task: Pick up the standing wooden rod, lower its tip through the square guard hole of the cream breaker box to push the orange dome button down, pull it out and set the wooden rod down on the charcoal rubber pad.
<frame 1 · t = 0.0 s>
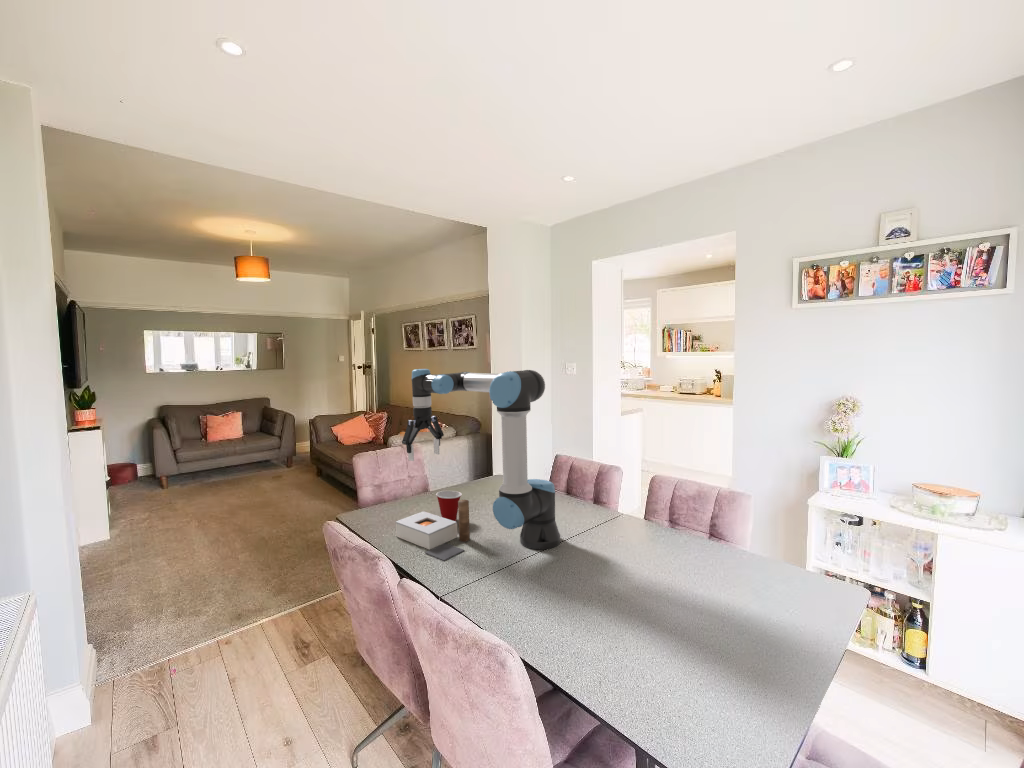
hand: (424, 457, 195), 28 cm above the table, fingers open, 13 cm apart
breaker box: (426, 536, 183), on the table
wooden rod: (464, 539, 179), on the table
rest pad: (444, 552, 169), on the table
plastic cup: (449, 521, 199), on the table
orange dome button: (426, 527, 182), point 4 cm above the table, slide at 0.0 cm
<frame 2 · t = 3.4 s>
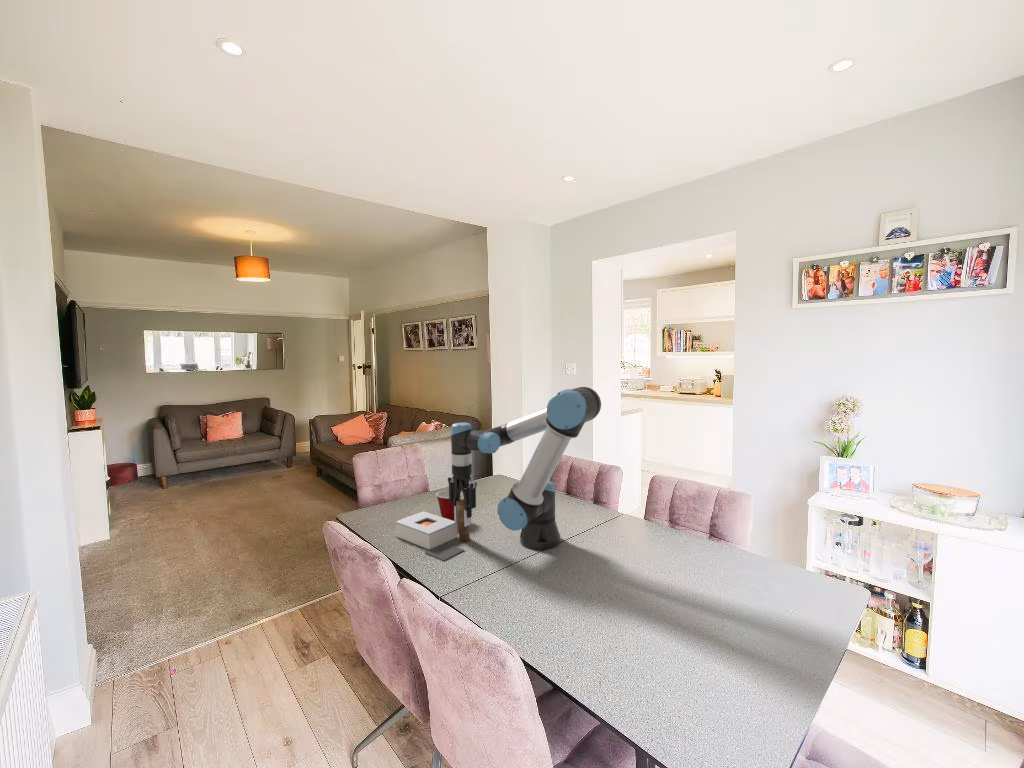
hand: (462, 523, 179), 6 cm above the table, fingers closed on wooden rod, 5 cm apart
wooden rod: (464, 539, 179), on the table, touching gripper
everything else where it was.
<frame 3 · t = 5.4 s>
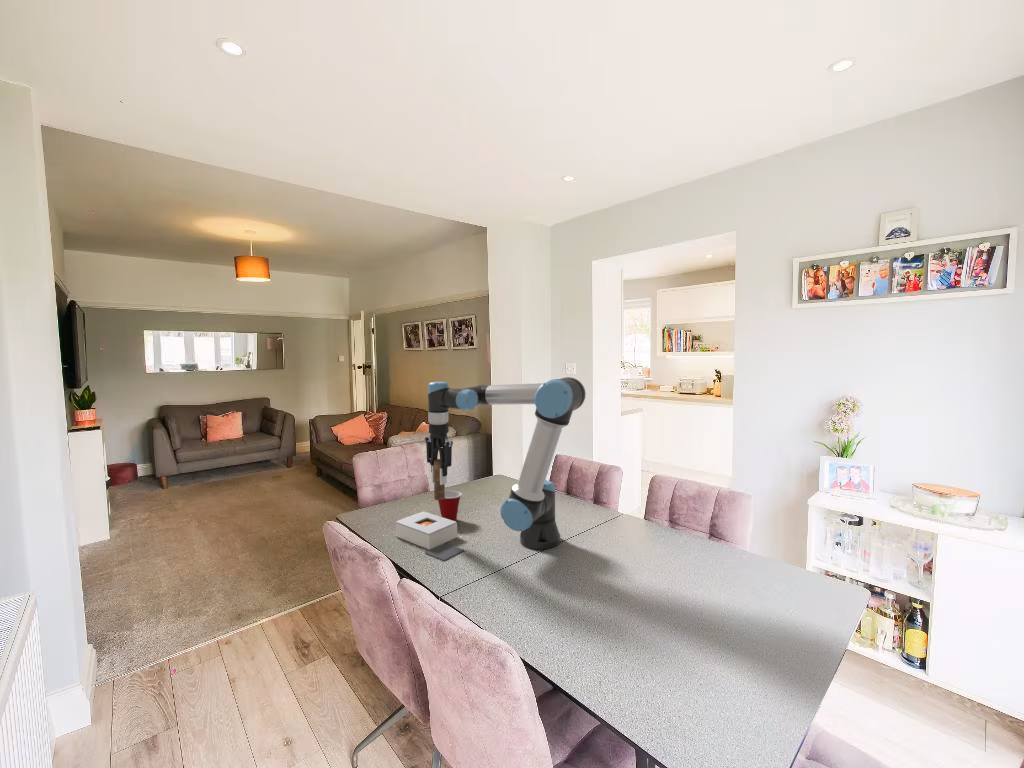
hand: (439, 482, 180), 22 cm above the table, fingers closed on wooden rod, 4 cm apart
wooden rod: (439, 498, 180), point 16 cm above the table, touching gripper
everything else where it was.
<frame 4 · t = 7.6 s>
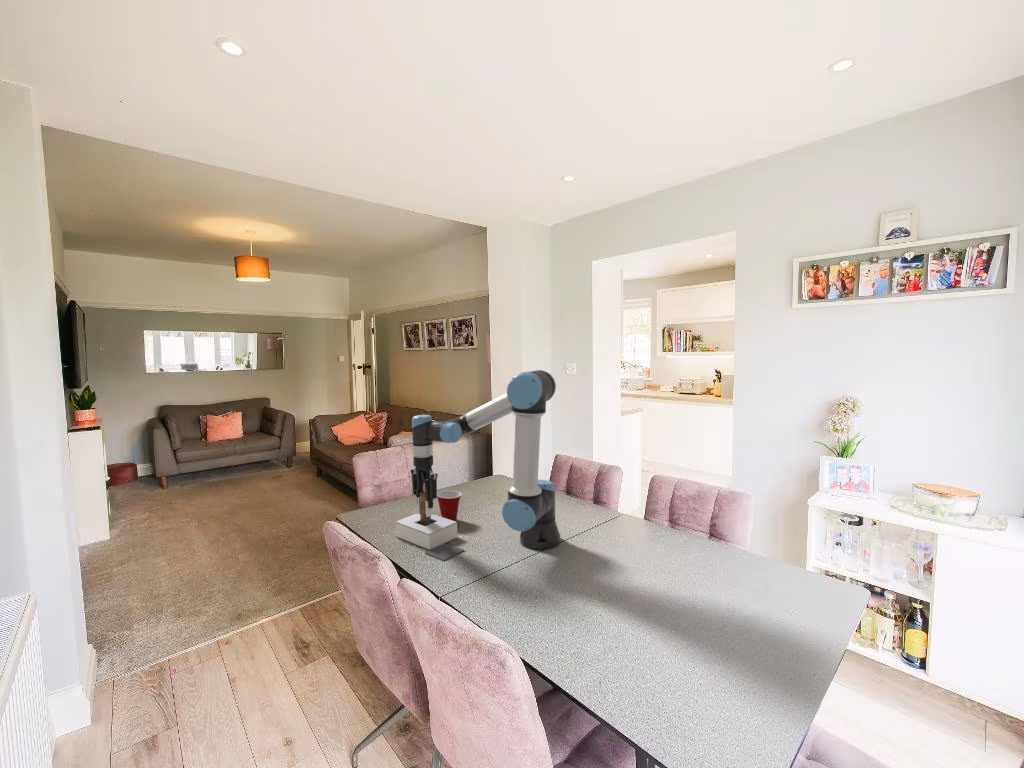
hand: (425, 514, 182), 9 cm above the table, fingers closed on wooden rod, 4 cm apart
wooden rod: (426, 529, 183), point 3 cm above the table, touching gripper, orange dome button
orange dome button: (426, 532, 183), point 2 cm above the table, slide at 2.2 cm, touching wooden rod
everything else where it was.
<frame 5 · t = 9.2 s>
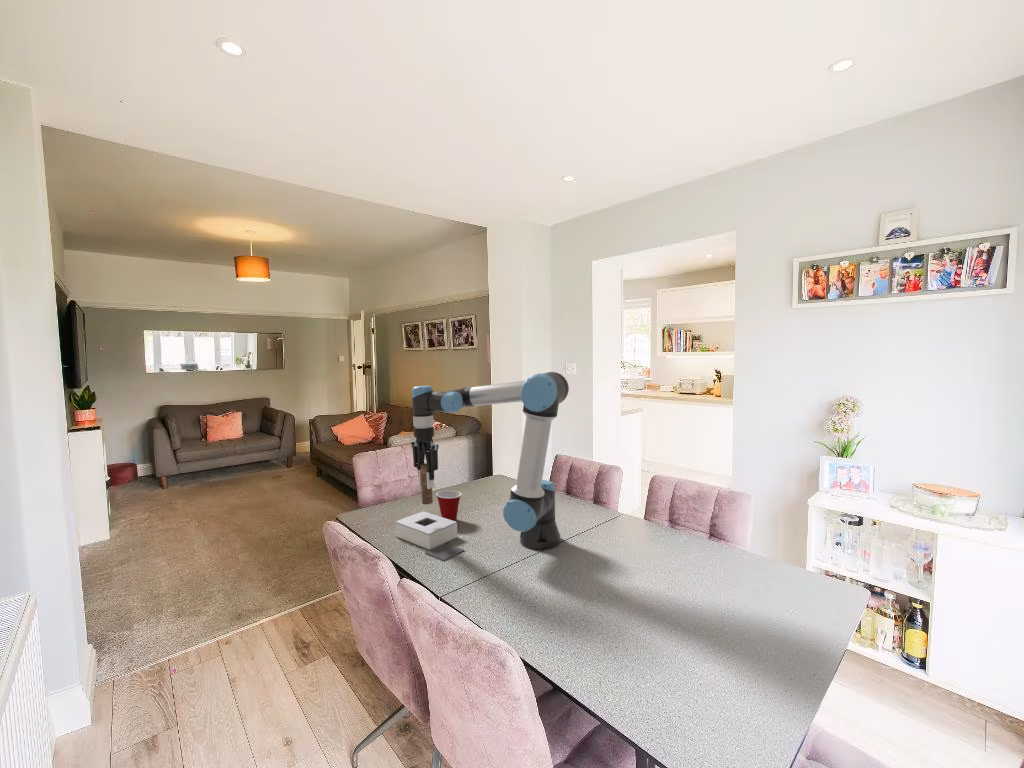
hand: (426, 486, 180), 20 cm above the table, fingers closed on wooden rod, 4 cm apart
wooden rod: (427, 502, 180), point 14 cm above the table, touching gripper
orange dome button: (426, 532, 183), point 2 cm above the table, slide at 2.2 cm
everything else where it was.
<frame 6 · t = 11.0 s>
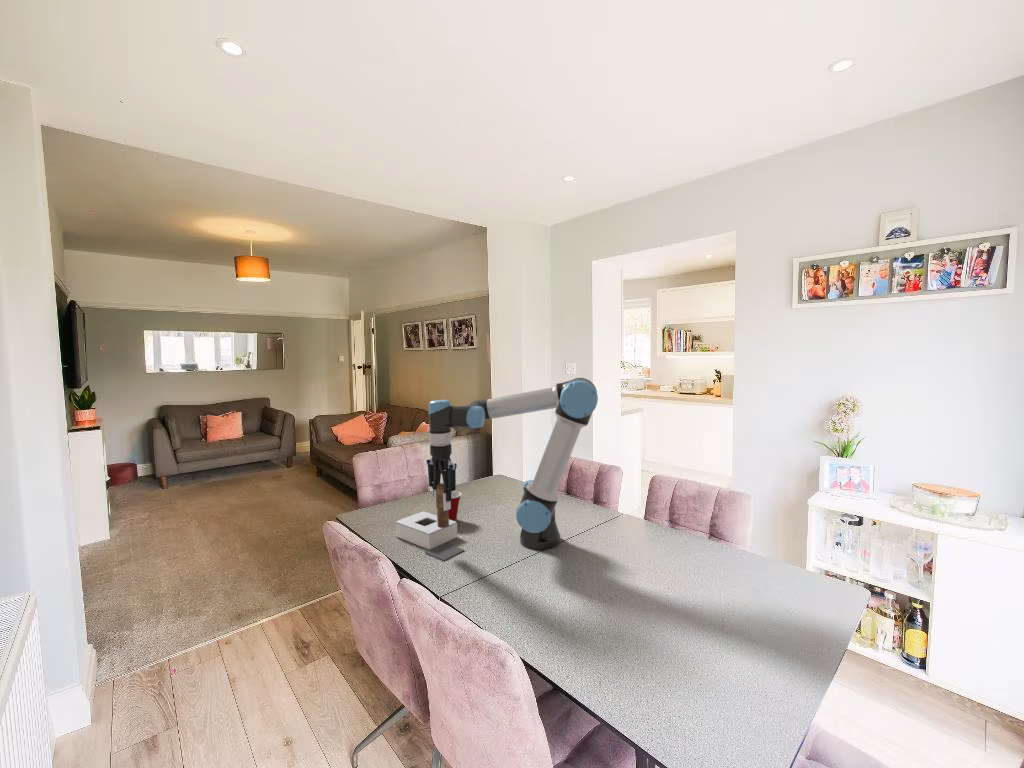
hand: (442, 508, 167), 16 cm above the table, fingers closed on wooden rod, 4 cm apart
wooden rod: (443, 525, 168), point 10 cm above the table, touching gripper
everything else where it was.
when the fingers open (7 cm above the table, at t = 13.3 s): wooden rod stays where it is, resting on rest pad.
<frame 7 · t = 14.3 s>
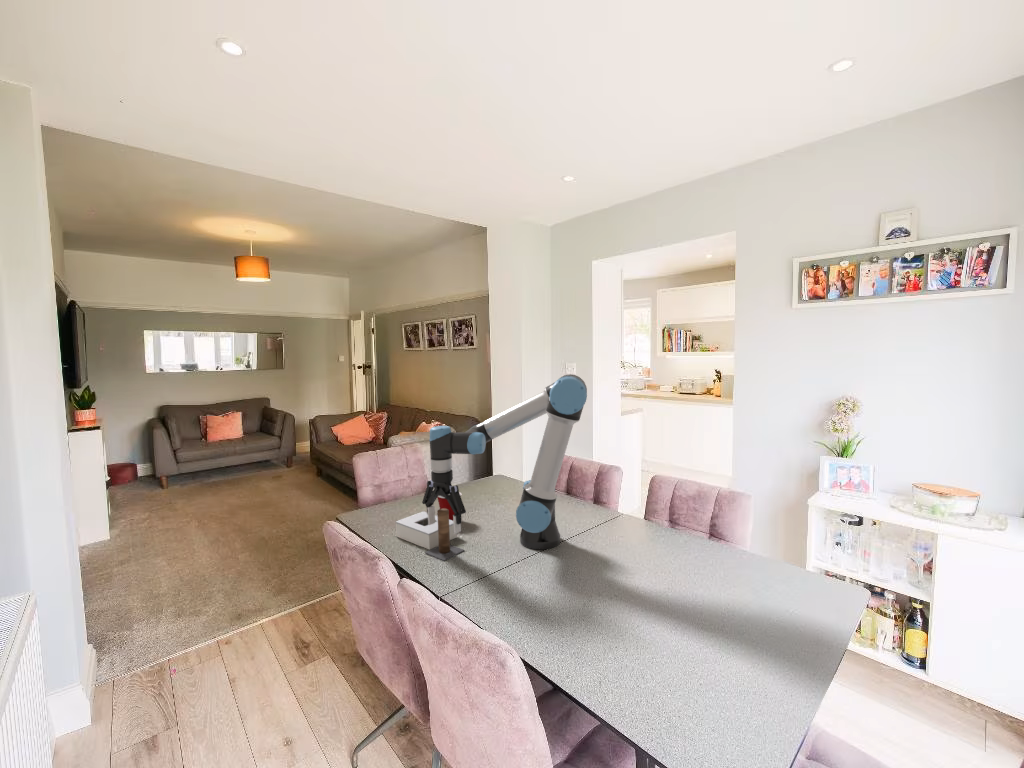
hand: (444, 528, 168), 9 cm above the table, fingers open, 13 cm apart
wooden rod: (444, 551, 169), resting on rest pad
everything else where it was.
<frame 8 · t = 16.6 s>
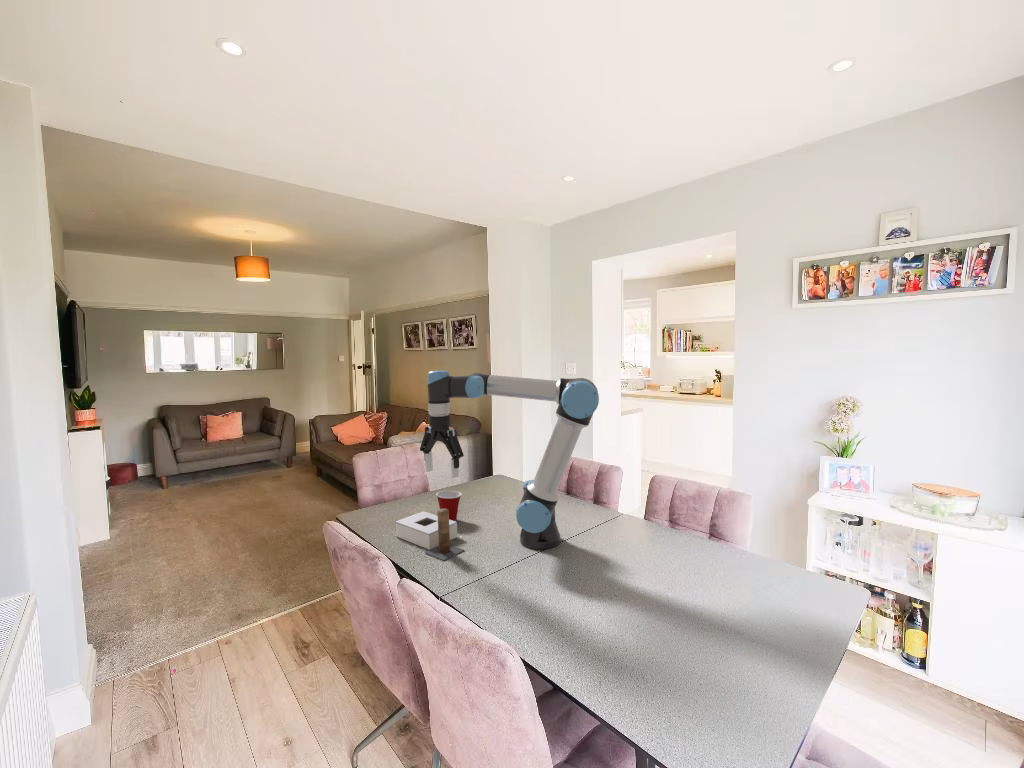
hand: (441, 474, 166), 29 cm above the table, fingers open, 13 cm apart
nothing on the table moved.
at the end: orange dome button slide at 2.2 cm; wooden rod 0.1 cm from the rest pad (horizontally); the gripper is holding nothing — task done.
